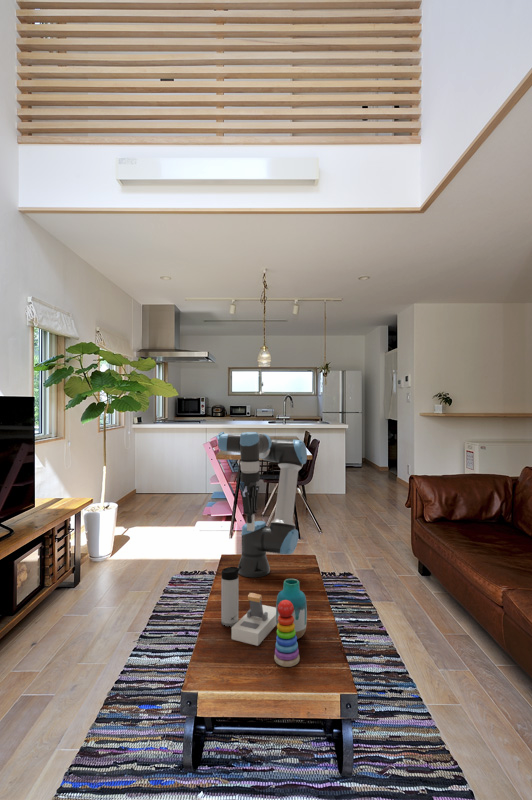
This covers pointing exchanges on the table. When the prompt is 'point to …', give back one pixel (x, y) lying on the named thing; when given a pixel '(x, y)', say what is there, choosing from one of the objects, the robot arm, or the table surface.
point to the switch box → (255, 626)
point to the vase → (294, 605)
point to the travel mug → (229, 596)
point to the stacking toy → (286, 636)
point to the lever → (255, 604)
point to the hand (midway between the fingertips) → (250, 530)
